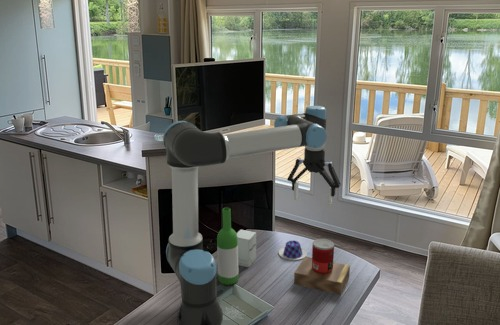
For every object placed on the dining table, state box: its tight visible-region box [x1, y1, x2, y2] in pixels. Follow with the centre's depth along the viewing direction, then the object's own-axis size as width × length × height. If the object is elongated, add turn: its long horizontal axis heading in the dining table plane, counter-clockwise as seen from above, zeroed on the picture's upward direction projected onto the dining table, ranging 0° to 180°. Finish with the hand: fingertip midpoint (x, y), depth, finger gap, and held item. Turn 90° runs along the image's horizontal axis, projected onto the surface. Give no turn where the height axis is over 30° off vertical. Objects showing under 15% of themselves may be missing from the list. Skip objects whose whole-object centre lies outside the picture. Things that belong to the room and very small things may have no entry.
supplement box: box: [236, 229, 257, 268], centre depth 192 cm, size 7×7×13 cm
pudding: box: [278, 240, 308, 261], centre depth 199 cm, size 12×12×5 cm
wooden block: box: [293, 255, 351, 296], centre depth 179 cm, size 18×13×5 cm
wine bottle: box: [216, 206, 240, 286], centre depth 176 cm, size 8×8×30 cm
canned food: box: [311, 238, 335, 274], centre depth 177 cm, size 8×8×11 cm
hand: (312, 201), depth 180 cm, fingers open, 13 cm apart
